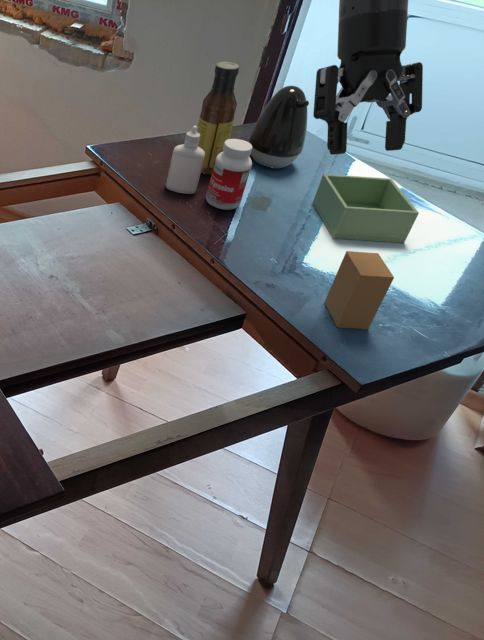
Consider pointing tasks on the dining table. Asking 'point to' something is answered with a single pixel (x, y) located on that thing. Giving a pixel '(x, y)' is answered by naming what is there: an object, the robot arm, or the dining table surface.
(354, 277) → the block
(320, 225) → the dining table surface
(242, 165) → the pill bottle
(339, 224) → the open box
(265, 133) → the black bird figurine
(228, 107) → the sauce bottle
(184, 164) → the eye dropper bottle
